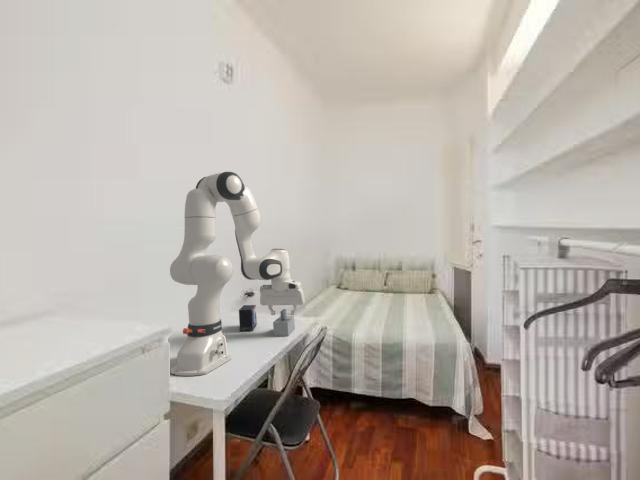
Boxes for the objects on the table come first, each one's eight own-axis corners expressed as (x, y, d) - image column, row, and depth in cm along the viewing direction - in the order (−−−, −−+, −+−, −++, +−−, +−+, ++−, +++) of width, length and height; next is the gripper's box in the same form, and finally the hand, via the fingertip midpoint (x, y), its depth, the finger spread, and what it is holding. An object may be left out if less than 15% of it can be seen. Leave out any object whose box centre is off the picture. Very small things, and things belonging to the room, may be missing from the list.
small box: (253, 331, 171) (251, 309, 171) (239, 332, 171) (237, 310, 171) (257, 325, 182) (256, 304, 181) (244, 325, 182) (243, 305, 181)
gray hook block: (288, 336, 160) (286, 313, 160) (273, 336, 162) (272, 313, 161) (294, 329, 171) (293, 307, 170) (281, 329, 172) (279, 307, 172)
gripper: (256, 286, 164) (258, 316, 164) (301, 285, 160) (303, 316, 160) (261, 283, 170) (263, 313, 170) (304, 282, 166) (306, 312, 166)
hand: (283, 314), depth 165 cm, fingers open, 8 cm apart
